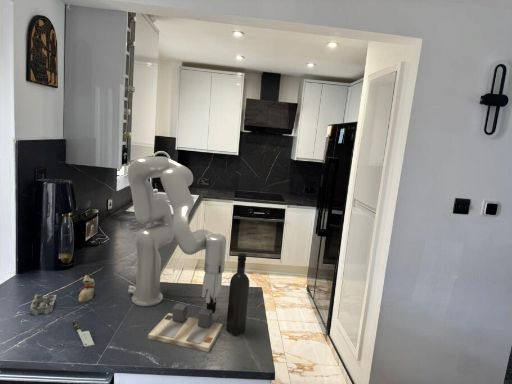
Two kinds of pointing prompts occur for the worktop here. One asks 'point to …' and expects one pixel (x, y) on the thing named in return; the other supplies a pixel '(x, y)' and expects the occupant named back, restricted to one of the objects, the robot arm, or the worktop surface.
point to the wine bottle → (238, 299)
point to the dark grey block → (179, 312)
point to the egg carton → (42, 304)
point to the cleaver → (83, 335)
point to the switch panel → (186, 333)
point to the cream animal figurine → (87, 289)
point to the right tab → (205, 317)
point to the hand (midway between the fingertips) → (210, 311)
